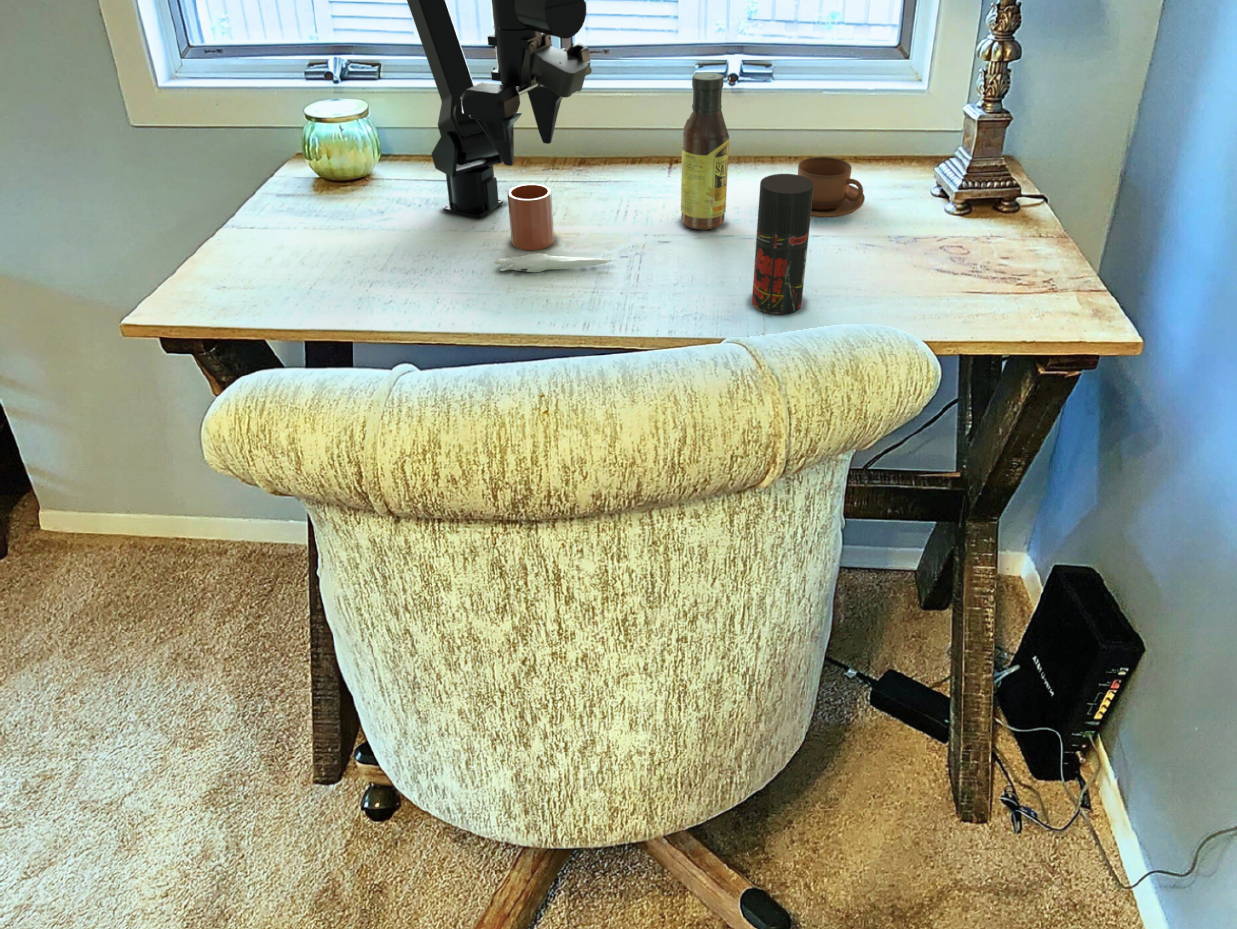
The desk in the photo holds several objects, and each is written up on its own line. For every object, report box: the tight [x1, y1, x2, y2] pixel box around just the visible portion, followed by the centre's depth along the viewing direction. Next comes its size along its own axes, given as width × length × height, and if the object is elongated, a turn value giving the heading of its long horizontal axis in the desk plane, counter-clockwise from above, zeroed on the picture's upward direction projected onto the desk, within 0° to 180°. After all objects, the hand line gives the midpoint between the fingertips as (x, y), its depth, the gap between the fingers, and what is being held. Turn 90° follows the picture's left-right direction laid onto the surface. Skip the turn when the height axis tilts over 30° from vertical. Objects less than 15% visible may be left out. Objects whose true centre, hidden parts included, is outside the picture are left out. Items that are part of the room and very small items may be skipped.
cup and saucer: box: [797, 156, 866, 219], centre depth 145 cm, size 12×12×6 cm
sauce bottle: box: [680, 71, 730, 230], centre depth 137 cm, size 7×6×20 cm
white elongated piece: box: [494, 252, 613, 273], centre depth 131 cm, size 15×3×2 cm, turn 92°
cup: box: [507, 183, 555, 251], centre depth 137 cm, size 6×6×7 cm
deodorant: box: [751, 173, 814, 316], centre depth 119 cm, size 6×6×15 cm
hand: (528, 153), depth 132 cm, fingers open, 9 cm apart
